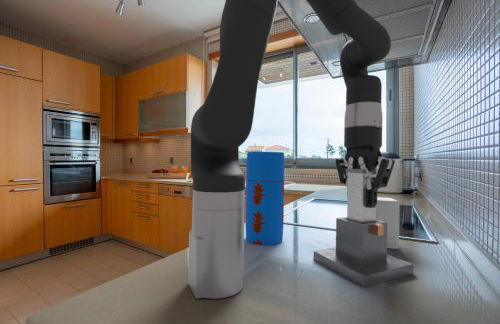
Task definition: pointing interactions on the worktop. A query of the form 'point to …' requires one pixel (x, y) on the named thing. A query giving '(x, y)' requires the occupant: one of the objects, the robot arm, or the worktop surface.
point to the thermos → (264, 197)
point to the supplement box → (389, 219)
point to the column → (358, 198)
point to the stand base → (362, 254)
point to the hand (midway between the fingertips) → (361, 205)
